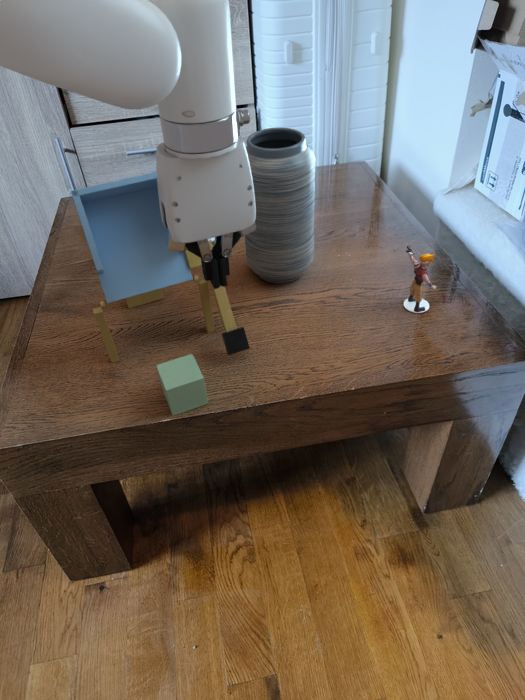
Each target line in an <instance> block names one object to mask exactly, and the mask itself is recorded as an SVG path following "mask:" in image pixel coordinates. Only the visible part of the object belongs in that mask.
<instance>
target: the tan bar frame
mask: <svg viewBox="0 0 525 700" xmlns="http://www.w3.org/2000/svg"><path fill="white" fill-rule="evenodd" d="M192 278H193V279H192V280H193V282H194V283H197V286H198V290H199V297H200V303H201V310H202V314H203V319H204V320H203V321H204V327H205V330H206V332H207V334H210V333H214V332H216V326H215V320H214V312H213V306H212V299H211V293H210V288H209V287H210V286H209V281H206V280H205V278H204V277H201V278H199V275H198V274H194V275H192ZM164 299H165V297H164V293H163V288H161V289H157V290H153V291H150V292H146V293H143V294H139V295H136V296H132V297H129V298H125V299H124V300H125V302H126V305H127V308H128V309H131V308H132V309H133V308H135V307H136V308H137V307H139V306H142V305H146V304H149V303H153V302H156V301H160V300H164ZM99 304H100V306H98V307H95V308H94V307H93V308H92V312H93V315H94V318H95V321H96V324H97V326H98V330H99V332H100V336H101V338H102V341H103V345H104V347H105V349H106V351H107V355H108V358H109V360H110V363H111V364H113V363H117V362H119V361H120V357H119V355H118V354H119V353H118V352H117V348H116V345H115V343H114V340H113V337H112V333H111V331H110V327H109V324H108V322H107V319H106V316H105V313H104V309H106V308H107V305H106V302H105V300H101V301H99Z"/></svg>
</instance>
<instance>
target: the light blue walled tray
mask: <svg viewBox="0 0 525 700" xmlns="http://www.w3.org/2000/svg"><path fill="white" fill-rule="evenodd" d="M70 195H71V197H72V199H73V203H74V206H75V209H76V213H77V215H78V218H79V221H80V224H81V227H82V230H83V233H84V236H85V239H86V242H87V246H88V248H89V251H90V254H91V258H92V261H93V263H94V267H95V270H96V273H97V276H98V279H99V282H100V285H101V288H102V291H103V295H104V297H105V300H106V303H107V304H111V303H114V302H118V301H121V300H126V299H125V298H129V297H132V296H136V295H139V294H143V293H146V292H150V291H153V290H157V289H161V288H162V289H163V288H168V287H171V286H175V285H179V284H181V283H182V284H183V283H185V282H189V281H192V280H194V279H193V275H192V272H191V269H196V268H199V267H202V264H201V258H200V257H198V256H196V255H195V254H193V253H191V252H189V251H170V250H169V249H168V247H167V245H166V233H167V228H165V227H164V224H163V221H162V217H161V212H160V204H159V196H158V186H157V172H156V171H154V172H149V173H145V174H141V175H135V176H131V177H126V178H122V179H118V180H113V181H108V182H104V183H100V184H95V185H90V186H86V187H81V188H77V189H73V190H70ZM208 242H209V246H210V249H211V250H212V247H214V245H213V242H211V240H210V241H208ZM209 283H210V287H211V289H212V293H213V297H214V300H215V303H216V306H217V307H216V308H217V310H218V314H219V317H220V320H221V324H222V327H223V330H224V332H222V333H221V337H222V341H223V344H224V347H225V351H226V355H228V356H231V355H234V354H237V353H240V352H243V351H247V350H250V344H249V340H248V337H247V333H246V330H245V327H244V326H241V327H237V325H236V324H237V323H236V321H235V318H234V313H233V311H232V307H231V304H230V301H229V297H228V293H227V291H226V286H225V287H223V286H221V285H220V287H219V288H217V289H214V287H213V285H212V284H211V282H210V281H209Z"/></svg>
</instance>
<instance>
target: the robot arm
mask: <svg viewBox="0 0 525 700" xmlns="http://www.w3.org/2000/svg"><path fill="white" fill-rule="evenodd" d="M230 9H231V8H230V0H0V67H2V68H4V69H7V70H10V71H12V72H14V73H18V74H20V75H22V76H25V77H28V78H31V79H34V80H37V81H38V82H42V83H45V84H47V85H50V86H53V87H56V88H59V89H61V90H65V91H68V92H71V93H74V94H76V95H80V96H82V97H86V98H89V99H92V100H95V101H98V102H100V103H104V104H107V105H110V106H114V107H117V108H121V109H125V110H145V109H149V108H152V107H155V106H156V105H157V109H158V115H159V116H158V117H159V122H160V127H161V134H162V141H163V142H161V143H159V144H158V145H157V146H156V152H155V160H156V161H155V170H156V171H155V172H157V186H158V196H159V204H160V212H161V217H162V221H163V224H164V227H165V228H167V233H166V245H167V247H168V249H169V250H170V251H189V252H191V253H193V254H195V255H196V256H198V257H200V258H201V264H202V266H201V270H202V276H203V278H205V280H206V281H208V282H209V283H210V282H211V283H210V285H211V284H212V285H213V287H214V289H217V288H219V287H220V285H221V286H223V287H225V288H226V287H227V286H228V278H227V277H228V276H230V275H231V270H230V259H229V257H231V256H232V254H233V253H232V252H233V248H234V247H235V246H236V244H237V243H238V242H239V241H240V239H241V238H243V237H244V238H245V236H246V235H248V234H250V233H252V232H254V231H255V230H256V228H257V227H256V223H255V219H256V203H255V193H254V186H253V179H252V173H251V168H250V163H249V158H248V154H247V150H246V146H247V145H246V143H245V140H244V138H243V137H242V136H241V132H240V131H241V127H243V126H244V125H248V124H250V122H251V115H250V111H249V110H248V109H238V108H237V101H236V86H235V71H234V70H235V69H234V53H233V39H232V37H233V36H232V25H231V23H232V22H231V10H230ZM213 237H215V241H213V242H214V245H213V247H212V250H211V249H210V246H209V242H208V238H213Z"/></svg>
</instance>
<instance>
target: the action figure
mask: <svg viewBox="0 0 525 700" xmlns="http://www.w3.org/2000/svg"><path fill="white" fill-rule="evenodd" d="M406 249H407V250H405V253H406V254H407V253H408V256H409V260H410V261H411V264H412V265H413V268H414V270H413V273H414V278H413V280H412V281H411V284H410V287H409V297H408V298H406V299H405V300H404V301H403V307H404V308H405V309H406V310H407V311H409V312H412V313H416V314H419V313H420V314H421V313H425V312H427V311H428V310H429V309H430V303H429V302H428V301H427V300H425V298H423V295H424V290H423V289H424V288H423V285H424V282H425V284H426V285H428V286H429V287H430V288H432V290H436V289H437V287H438V286H437V285H434V284H433V283H432V282H431V280H429V276H428V275H429V274H428V269H427V268H429V267H430V266H431V264H432V263H433V262H434V261H435V260H434V259H435V254H431V253H424V254H421V255H420V256H419V257H418V259H419V260H416V259H415V258H414V255H415V254H416V253H415V251H414V249H413V247H412V246H411V245H406Z"/></svg>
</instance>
